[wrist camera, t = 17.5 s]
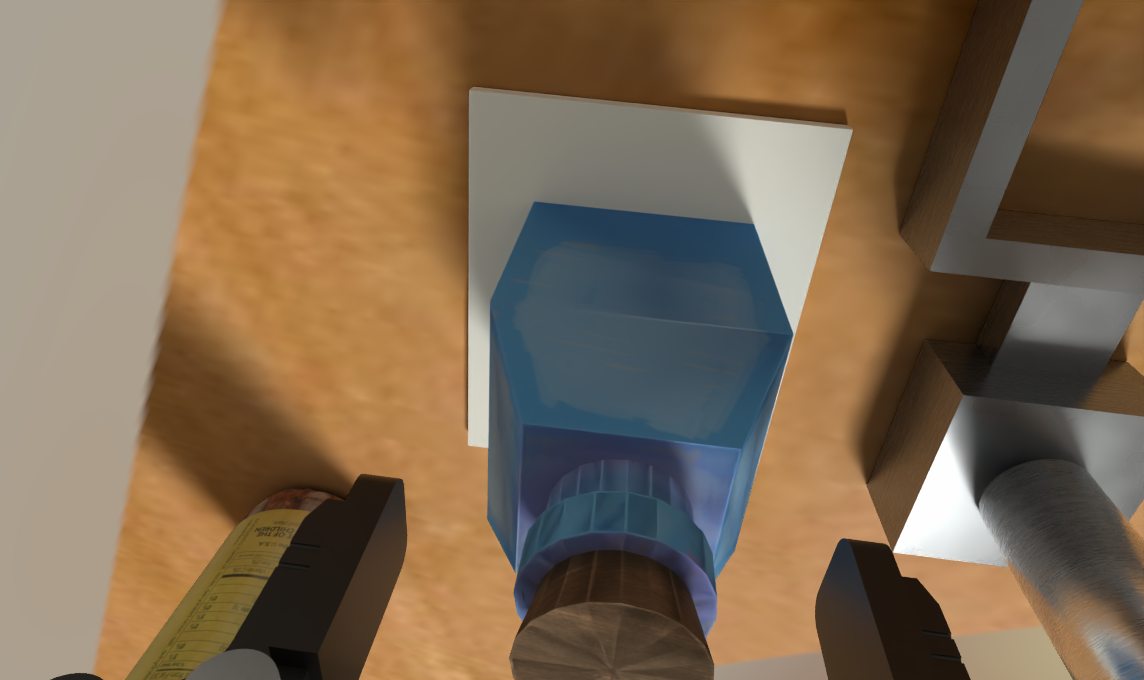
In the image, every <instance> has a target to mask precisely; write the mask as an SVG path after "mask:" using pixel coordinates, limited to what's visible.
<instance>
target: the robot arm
mask: <svg viewBox="0 0 1144 680" xmlns="http://www.w3.org/2000/svg"><path fill="white" fill-rule="evenodd" d="M406 546H407V525H406V510H405V494H404V483H403V480H402V479H398V478H391V477H383V476H376V475H368V474H361V475H360V476H359V477H358V478H357V480H356V481H355V483H354V485H353V487H352V489H351V491H350V493H349V495H348V496H347V498H346V500H345V501H342V500H335V499H326V500H325V501H324V502H323V503H321V504H320V505H319V506H318V507H317V508H315V509H314V510H313V511H312V512H311V513H309V514H308V515H307V516H306V517H305V518H304V519H303V521H302V522H301V524H300V526H299V528H298V529H297V531H296V533H295V534H294V536H293V538H292V540H291V541H290V546H289V547H287V548H286V550H285V552H284V553H283V555H282V557H281V559H280V560H279V564H278V567H275V569H274V571H273V572H272V574H271V576H270V577H269V579H268V581H267V583H266V584H265V586H264V588H263V589H262V591H261V593H260V595H259V596H258V598H257V600H256V601H255V603H254V605H253V607H252V608H251V610H250V612H249V613H248V615H247V617H246V619H245V620H244V622H243V624H242V625H241V627H240V629H239V631H238V632H237V634H236V636H235V637H234V639H233V641H232V642H231V644H230V645H229V647H228V648H227V649H226V650H225V651H224V652H223V653H220V654H218V655H216V656H214V657H212V658H210V659H208V660H207V661H205V662H203V663H202V664H201V665H199V666H198V667H197V668H196V669H194V670H193V671H192V672H191V673H190V674H189V675H188V677H187V678H184V679H181V680H359V677H360V675H361V672H362V669H363V667H364V664H365V662H366V659H367V656H368V654H369V651H370V649H371V646H372V644H373V641H374V638H375V636H376V633H377V631H378V628H379V625H380V623H381V620H382V618H383V615H384V613H385V610H386V607H387V605H388V602H389V600H390V597H391V594H392V592H393V589H394V587H395V584H396V582H397V579H398V576H399V574H400V571H401V568H402V565H403V561H404V557H405V552H406ZM815 620H816V628H817V633H818V637H819V641H820V646H821V650H822V654H823V658H824V662H825V667H826V671H827V676H828V680H971V679H970V677H969V675H968V672H967V670H966V668H965V665H964V664H963V663H961V656H960V653H959V651H958V648H957V646H956V644H955V641H954V639H951V632H950V629H949V627H948V624H947V622H946V620H945V617H944V615H943V612H942V610H941V608H940V605H939V604H938V603H937V602H936V600H935V599H934V598H933V597H932V596H931V595H930V593H929V592H928V591H927V590H926V589H925V587H924V586H923V585H922V584H921V583H920V582H919V580H918V579H917V578H909V577H902V576H901V574H900V571H899V568H898V566H897V563H896V561H895V558H894V555H893V553H892V551H891V549H890V547H889V546H888V545H886V544H883V543H875V542H867V541H860V540H852V539H844V538H843V539H841V540H840V541H839V543H838V545H837V547H836V549H835V552H834V554H833V557H832V559H831V561H830V564H829V566H828V569H827V571H826V574H825V576H824V579H823V581H822V584H821V586H820V589H819V591H818V594H817V598H816V606H815ZM51 680H103V679H101V678H100V677H98V676H95V675H92V674H87V673H74V674H68V675H63V676H60V677H56V678H53V679H51Z"/></svg>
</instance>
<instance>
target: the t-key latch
mask: <svg viewBox="0 0 1144 680" xmlns="http://www.w3.org/2000/svg"><path fill="white" fill-rule="evenodd" d="M979 513H980V516H981V518H982V520H983V522H984V524H985V525H986V527H987V529H988V531H989V533H990V534H991V536H992V538H993V540H994V541H995V543H996V545H997V547H998V548H999V550H1000V552H1001V554H1002V555H1003V557H1004V559H1005V561H1006V563H1007V564H1008V566H1009V568H1010V570H1011V571H1012V573H1013V575H1014V577H1015V578H1016V580H1017V582H1018V584H1019V585H1020V587H1021V589H1022V591H1023V593H1024V594H1025V596H1026V598H1027V600H1028V601H1029V603H1030V605H1031V607H1032V608H1033V610H1034V612H1035V614H1036V616H1037V617H1038V619H1039V621H1040V623H1041V624H1042V626H1043V628H1044V630H1045V631H1046V633H1047V635H1048V637H1049V638H1050V640H1051V642H1052V644H1053V646H1054V647H1055V649H1056V651H1057V653H1058V654H1059V656H1060V658H1061V660H1062V661H1063V663H1064V665H1065V667H1066V668H1067V670H1068V672H1069V674H1070V675H1071V677H1072V679H1073V680H1144V540H1143V539H1142V537H1141V536H1140V535H1139V534H1138V532H1137V531H1136V530H1135V529H1134V528H1133V526H1132V525H1131V524H1130V523H1129V521H1128V520H1127V519H1126V518H1125V517H1124V515H1123V514H1122V513H1121V512H1120V510H1119V509H1118V508H1117V507H1116V505H1115V504H1114V503H1113V502H1112V501H1111V499H1110V498H1109V497H1108V496H1107V494H1106V493H1105V492H1104V491H1103V490H1102V488H1101V487H1100V486H1099V485H1098V483H1097V482H1096V481H1095V480H1094V478H1093V477H1092V476H1091V475H1090V474H1089V472H1087V471H1086V470H1085V469H1084V468H1082V467H1081V466H1079V465H1077V464H1075V463H1072V462H1069V461H1064V460H1057V459H1043V460H1035V461H1030V462H1026V463H1023V464H1020V465H1017V466H1015V467H1013V468H1011V469H1009V470H1007V471H1005V472H1003V473H1002V474H1000V475H999V476H998V477H996V478H995V479H994V480H993V481H992V482H991V483H990V484H989V485H988V486H987V487H986V489H985V490H984V492H983V494H982V496H981V498H980V502H979Z"/></svg>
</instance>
